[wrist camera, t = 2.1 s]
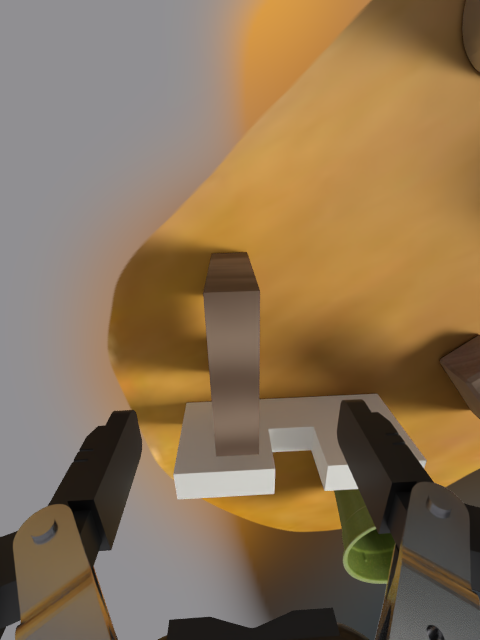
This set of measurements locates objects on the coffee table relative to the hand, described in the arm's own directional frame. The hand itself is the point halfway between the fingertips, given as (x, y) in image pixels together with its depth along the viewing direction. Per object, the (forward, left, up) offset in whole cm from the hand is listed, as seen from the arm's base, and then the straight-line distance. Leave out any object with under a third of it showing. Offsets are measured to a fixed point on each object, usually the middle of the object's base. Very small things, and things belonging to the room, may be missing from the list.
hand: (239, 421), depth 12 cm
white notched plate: (+17, +6, -20) cm, 28 cm away
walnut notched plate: (+4, 0, -20) cm, 21 cm away
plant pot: (+28, +17, -21) cm, 39 cm away
